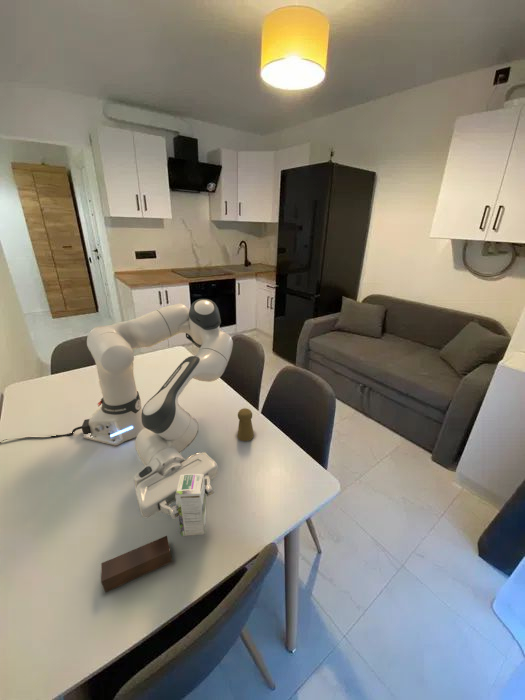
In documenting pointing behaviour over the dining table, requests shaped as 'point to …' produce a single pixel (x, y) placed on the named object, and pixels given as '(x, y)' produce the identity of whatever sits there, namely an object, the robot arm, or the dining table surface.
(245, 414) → the olive brown hourglass shape
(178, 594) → the dining table surface
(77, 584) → the dining table surface
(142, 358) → the dining table surface
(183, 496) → the syrup box
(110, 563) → the walnut block
